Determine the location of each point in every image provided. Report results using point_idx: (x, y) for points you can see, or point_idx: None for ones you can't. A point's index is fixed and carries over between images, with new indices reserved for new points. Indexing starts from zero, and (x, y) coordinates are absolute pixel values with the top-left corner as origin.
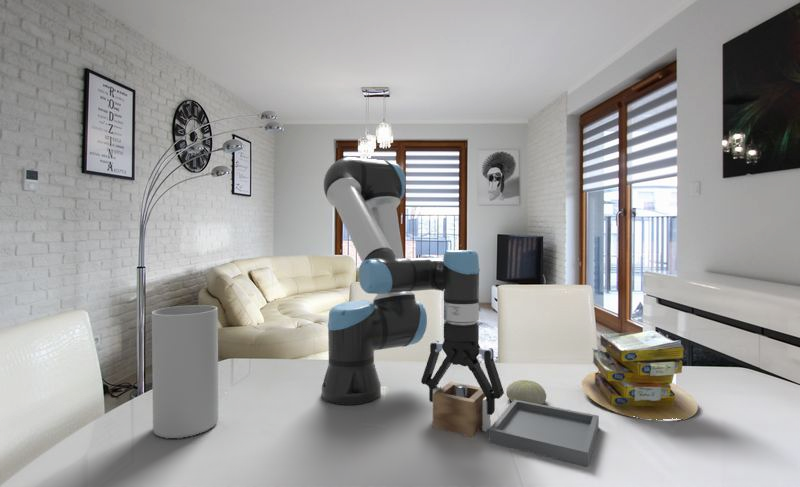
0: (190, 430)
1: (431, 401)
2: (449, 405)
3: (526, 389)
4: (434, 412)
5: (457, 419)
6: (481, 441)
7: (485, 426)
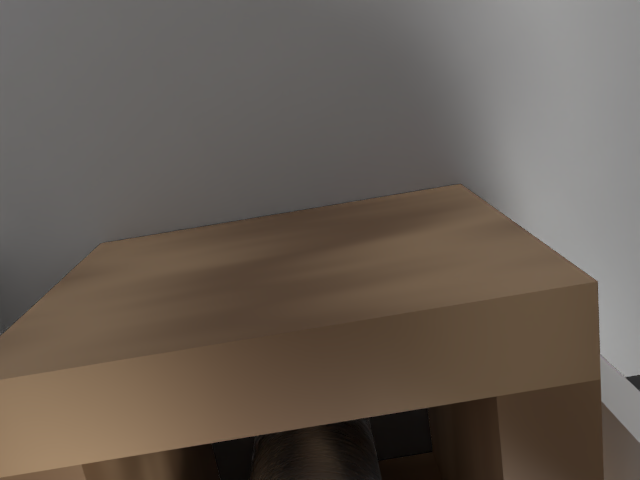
0: None
1: (634, 380)
2: (315, 283)
3: None
4: (486, 216)
5: (225, 256)
6: (4, 218)
7: None
